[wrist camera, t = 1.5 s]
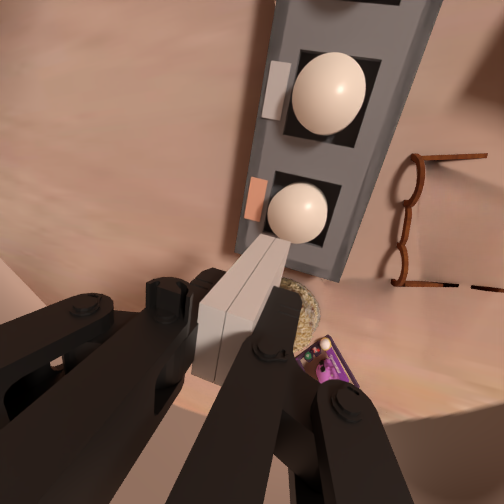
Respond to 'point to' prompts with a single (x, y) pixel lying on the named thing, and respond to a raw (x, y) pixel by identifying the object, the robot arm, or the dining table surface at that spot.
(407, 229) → the glasses
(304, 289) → the beige textured round piece
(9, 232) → the dining table surface
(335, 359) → the purple toy box
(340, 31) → the console
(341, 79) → the button middle
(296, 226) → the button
